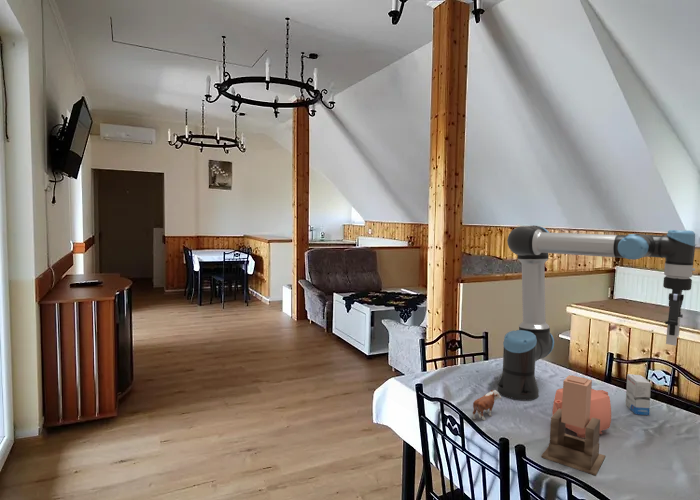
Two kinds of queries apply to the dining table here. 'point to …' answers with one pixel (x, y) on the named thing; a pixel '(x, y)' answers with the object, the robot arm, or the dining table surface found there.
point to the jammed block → (576, 401)
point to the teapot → (598, 410)
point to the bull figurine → (485, 403)
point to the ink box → (638, 394)
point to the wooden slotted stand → (575, 446)
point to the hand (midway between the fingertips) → (672, 340)
